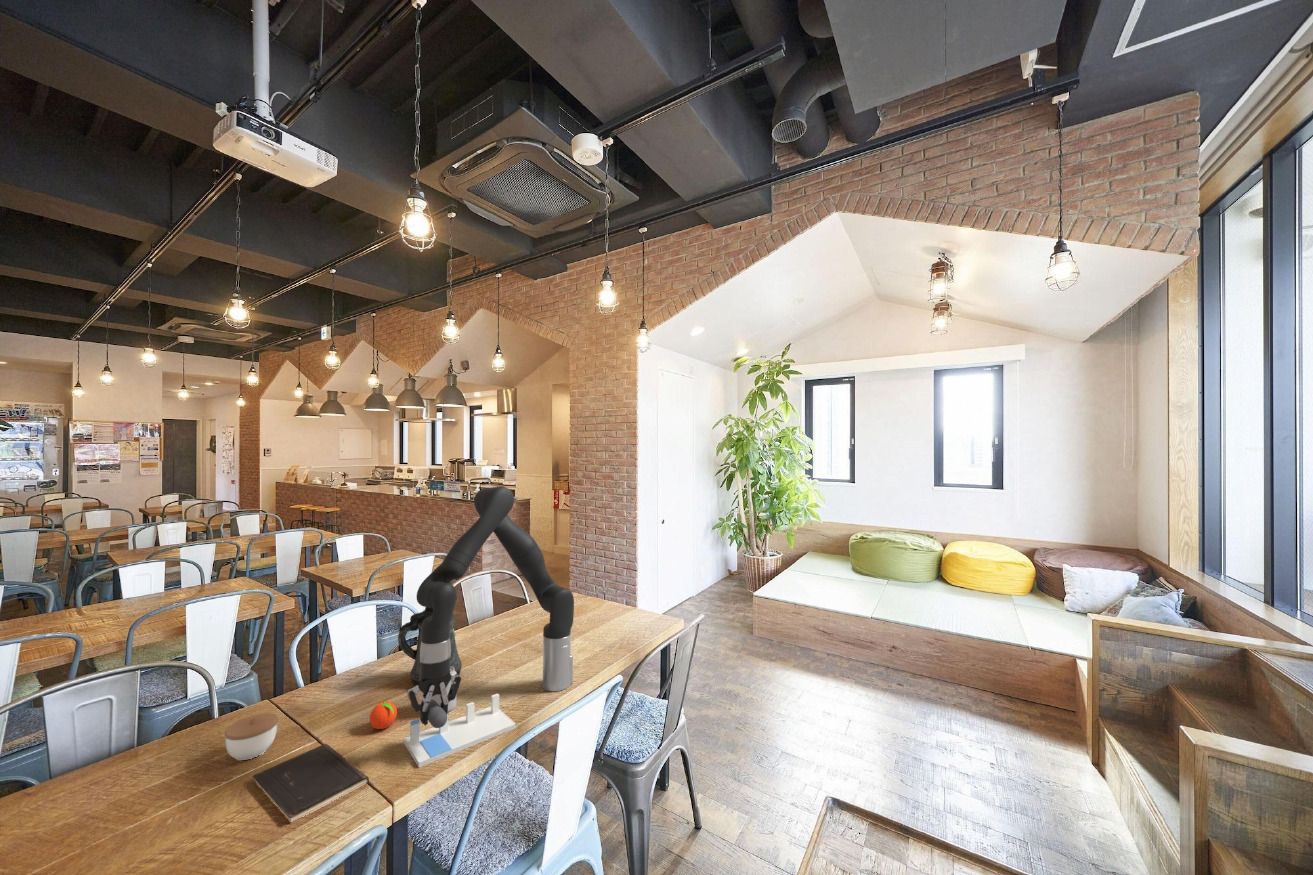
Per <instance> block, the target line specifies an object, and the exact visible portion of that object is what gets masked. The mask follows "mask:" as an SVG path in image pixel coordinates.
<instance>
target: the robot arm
mask: <svg viewBox="0 0 1313 875" xmlns="http://www.w3.org/2000/svg"><path fill="white" fill-rule="evenodd" d="M473 504H474V508H475V510H476V512H477V514H478V515H479V518H478V519H477V520H476V521H475V523H473V525H471V527H470V528H469V529H468V530H466V532H464V533H463V534H462V535H461V536H460V537H459V538H458V539H457V541H455V543H453V545H452V546H451V548H450V549H449V550H448V553H447V554H446V556H444V558H443V560H442V562H441V563H440V564H439V565H438V566H436V568H435V569H434V570H432V572H431V573H430V574H429V575H428V576H427V577H425V579H424V580H423V581H422V582H421V583H420V585H419V587H418V589H417V592H416V602H417V603H418V605H420V606H422V607H424V608H426V607H428V608H433V615H432V616H430V617H427V618H426V619H425V620H424V621H423V623H422V635H421V648H420V679H419V682H418V684H417V686H413V687H412V688H407V689H406V694H407V697H408V699H409V701H410V704H411V708H412V709H413V710H414V711H415V713H419V714H420V715H419V717H420V718H419V721H420V722H421V724H422V725H423V726H427V725H428V724H429V723H428V722H429V721H428V710H427V708H428V704H429V702H430V700H431V697H433V696H434V695H440V698H441V701H442V702H441V703H440V707H441V708H442V709H443V710H444V711H445V712H446V714H448V715H449V712H448V703H449V702H450V701H451V700H454V699H455V697H456V698H457V695H456V694H457V693H458V690H459V687H460V684H461V682H462V677H461V676H460V675H458V674H455V675H451V674H450V654H451V645H450V621H451V618H452V615H454V614H453V613H454V611H455V607H456V604H457V599H458V598H457V597H458V594H457V590H456V588H455V586H454V585H453V584H452V583H451V582H452V581H454V580H459V579H461V578H463V577H464V576H465V574H466V572H467V571H468V570H469V568H470V566H471V564H472V563H473V561H474V560H475V557H476V556H477V554H478V552H479V551H480V550H481V549H482V548H483V545H484V544H485V543H486V542H487V540H488V539H489V538H490V536H491V535H492V534H493V533H494V535H495V536H496V538H497V539H498V541H499V542H500V544H501V545H502V546H503V548H504V549H505V551H506V553H507V554H508V556H509V557H510V559H511V560H512V562H513V563H514V565H515V566H516V568H517V569H518V571H519V572H520V573H521V575H522V576H523V578H524V579H525V580H526V582H527V583H528V584H529V586H530V588H531V589H532V591H533V594H534V596H535V597H536V599H537V602H538V603H539V605H540V607H541V608H542V610H544V611H545V612H546V613H549V622H548V623H546V624H545V625H544V626H543V629H542V630H543V632H542V634H543V635H542V637H543V638H542V644H543V645H542V652H543V653H542V687H543V689H544V690H545V691H548V692H558V691H563V690H566V689H567V688H569V687H570V686H571V685H573V684H574V683H573V682H574V681H573V680H574V678H573V677H574V670H573V669H574V655H572V654H571V652H572V651H571V645H572V643H571V640H572V637H571V636H572V635H571V633H572V632H571V630H572V627H573V626H574V625H573V624H574V616H575V614H574V612H575V598H574V594H573V592H572V591H571V590H570V589H568V588H565V587H563V586H560V585H558V584H557V583H556V582H555V581H554V579H553V578H552V576H551V575H550V574H549V572H548V570H547V568H546V561H545V557H544V556H545V555H544V554H543V551H542V549H541V548H540V546H539V545H538V543H537V542H536V540H535V538H534V537H532V535H531V534H529V532H528V531H526V530H525V529H523V528H522V527H521V526H520V525H518V524H517V523H515V521H513V520H512V519H511V517H510V516H509V515H508V514H509V513H510V512H511V511H512V509H513V507H514V504H515V496H514V493H513V491H512V490H511V489H510V488H508V487H506V486H492V487H487V488H483V489H481V490H478V491H477V492H476V494H475V496H474V500H473ZM450 680H451V683H452V684H451V687H450V690H449V693H448V695H447V692H446V687H447V685H448V684H449V682H450ZM419 690H420V691H421V692H422V695H421V699H420V703H419V701H418V700H417V699H418V698H417V696H418V695H419V693H418V692H419Z"/></svg>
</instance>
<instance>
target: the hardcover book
mask: <svg viewBox="0 0 1313 875" xmlns="http://www.w3.org/2000/svg"><path fill="white" fill-rule="evenodd" d="M252 778H253V779H254V782H255V781H256V782H257V784H258V785H259V786H260V787H261V788H262V790H263V791H264V792H265V793H266V794H267V795H268V796H269V797H270V799H271V800H272V801H273V802H274V803H275V804H276V805H277V807H278V808H279V809H280V810H281V811H282V813H283V814H284V815H285V816H286V817H287V818H288V820H289V821H290V822H293V821H295V820H297V819H298V818H301V817H303V818H305V817H306V816H308V815H310V814H312V813H314V812H315V811H318V810H319V809H321V807H322V808H323V807H325V806H327V805H329V804H331V803H332V802H331V801H333V802H335V801H337V800H338V799H340V798H342V797H344V796H346V795H348V794H349V792H350V793H351V792H353V791H356V790H357V789H359V788H361V787H363V786H364V785H366V784H369V782H370V781H369V780H370V778H369V777H368V776H367V775H366V774H365V773H364V772H362V771H361V770H360V769H359V768H358V767H356V766H355V765H354V764H352V763H351V762H350V761H349V760H348V759H346V758H345V757H343V756H342V754H340V753H339V752H338V751H336V750H335V749H334V748H333V747H331V745H329V744H328V743H324V744H322V745H320V746H319V745H318V746H317V747H315V748H312V749H311V750H308V751H305V752H303V753H301V754H299V755H296V756H294V757H292V758H289V759H287V760H285V761H283V762H280V763H278V764H276V765H273V766H271V767H269V768H267V769H265V770H261V771H260V772H257V773H255V774H253V775H252ZM257 784H256V785H257ZM258 785H257V786H258ZM259 786H258V787H259ZM262 790H261V791H262ZM263 791H262V792H263ZM264 792H263V793H264ZM265 793H264V794H265ZM266 794H265V795H266ZM341 796H342V797H341ZM339 797H340V798H339ZM270 799H269V800H270ZM336 799H337V800H336ZM271 800H270V801H271ZM334 800H335V801H334ZM272 801H271V802H272ZM273 802H272V803H273ZM277 807H276V808H277ZM278 808H277V809H278ZM279 809H278V810H279ZM280 810H279V811H280ZM282 813H281V814H282ZM309 813H310V814H309ZM283 814H282V815H283ZM284 815H283V816H284ZM305 815H306V816H305ZM285 816H284V817H285ZM304 816H305V817H304ZM286 817H285V818H286ZM287 818H286V819H287ZM301 819H302V818H301ZM288 820H287V821H288ZM289 821H288V822H289ZM297 821H298V820H297ZM290 822H289V823H290ZM295 822H296V821H295ZM293 823H294V822H293Z"/></svg>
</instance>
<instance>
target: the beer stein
mask: <svg viewBox="0 0 1313 875" xmlns="http://www.w3.org/2000/svg"><path fill="white" fill-rule="evenodd" d="M432 615H433V608H428V607H425V609H424V610H423V611H420V612H417V613H414V614H412V615H411V616H410V617H409V622H406V623H405V624H403V625H402V626H401V627H400V628H399V632H398V637H397V642H398V645H399V648H400V649H401V651H402V652H403V653H404V654H406V656H408V657H409V658H410V659H412V660H414V662H413V664H412V668H411V670H410V678H411V683H412V685H413V687H415V686H417V684H418V682H419V679H420V648H421V635H422V623H423V621H424V620H425V619H426V618H427V617H430V616H432ZM455 619H456V617H455V615H454V614H453V615H452V618H451V621H450V645H451V654H450V666H451V667H454V669H455V670H454V671H456V673H457V674H458V675H459V676H460V674H461V672H462V671H461V670H462V666H463V665H462V664H463V663H462V660H461V658H460V656H459V652H458V649H457V644H456V637H455V636H456V635H455V630H454V622H455ZM417 630H418V636H417V643H416V649H413V648H412V647H411V646H410V645H409V643H408V642H407V640H406V636H407V633H408V632H414V631H417Z"/></svg>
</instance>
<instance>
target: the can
mask: <svg viewBox="0 0 1313 875" xmlns="http://www.w3.org/2000/svg"><path fill="white" fill-rule="evenodd" d="M454 670H455V669H454V667H451V666H450V674H451V675H455V674H457V673H456V671H454ZM451 684H452V683H451V680H450V682H449V684H448V685H447V687H446V692H447V695H448V693H449V690H450V687H451ZM431 699H433V700H435V701H436V702H437V703H438V704H439V705H440V703H441V702H442V701H441V698H440V695H434V696H433V697H431ZM456 706H457V694H456V697H455V699H454V700H451V701H450V702H449V703H448V713H450V712H452V711H453V709H454V708H456Z"/></svg>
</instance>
